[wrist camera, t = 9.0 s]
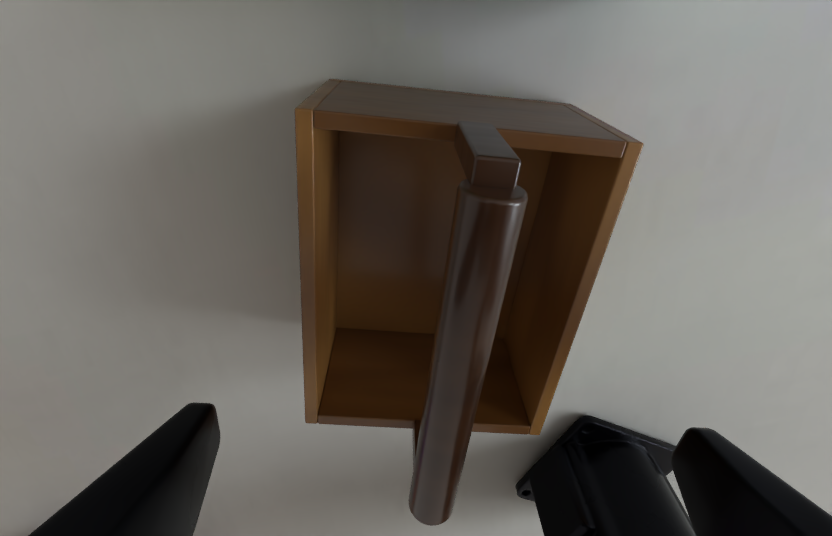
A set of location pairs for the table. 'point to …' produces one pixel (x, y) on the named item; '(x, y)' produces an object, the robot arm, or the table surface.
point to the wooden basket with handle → (447, 261)
